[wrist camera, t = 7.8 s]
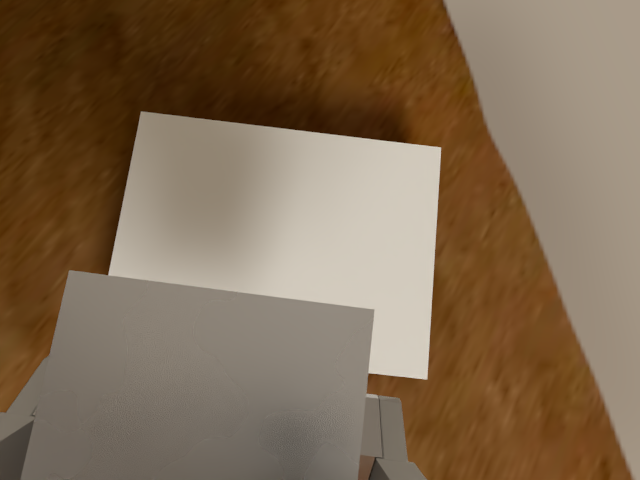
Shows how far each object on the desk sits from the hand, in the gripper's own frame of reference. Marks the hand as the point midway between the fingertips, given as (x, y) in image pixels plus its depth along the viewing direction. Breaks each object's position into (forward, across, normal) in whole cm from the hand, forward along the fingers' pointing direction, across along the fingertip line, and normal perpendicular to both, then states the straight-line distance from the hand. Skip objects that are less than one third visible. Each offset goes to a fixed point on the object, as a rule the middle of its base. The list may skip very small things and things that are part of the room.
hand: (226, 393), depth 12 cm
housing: (+3, 0, +4) cm, 5 cm away
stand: (+16, 0, +7) cm, 17 cm away
